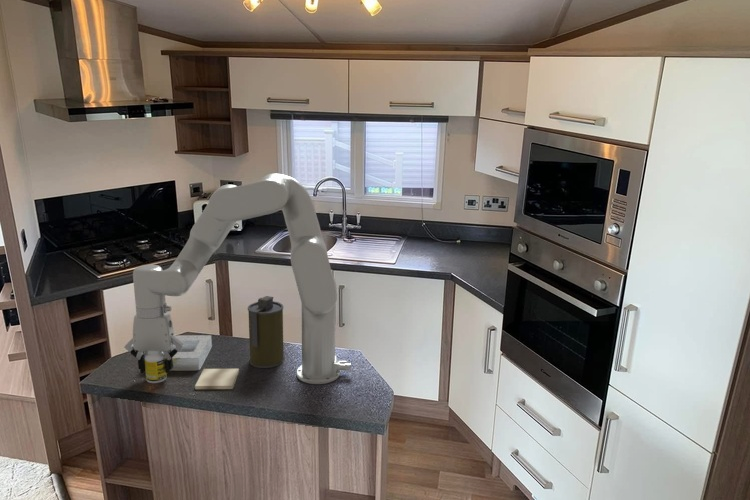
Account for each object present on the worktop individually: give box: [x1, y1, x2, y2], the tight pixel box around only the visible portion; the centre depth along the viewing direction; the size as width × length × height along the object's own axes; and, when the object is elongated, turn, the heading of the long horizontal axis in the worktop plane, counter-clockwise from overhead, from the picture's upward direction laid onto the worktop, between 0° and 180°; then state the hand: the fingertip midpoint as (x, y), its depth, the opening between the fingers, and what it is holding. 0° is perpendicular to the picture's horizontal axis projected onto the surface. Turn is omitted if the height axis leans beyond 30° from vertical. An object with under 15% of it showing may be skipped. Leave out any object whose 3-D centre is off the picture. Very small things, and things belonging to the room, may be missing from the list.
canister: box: [247, 295, 285, 369], centre depth 161 cm, size 11×10×20 cm
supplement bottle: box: [144, 351, 168, 384], centre depth 150 cm, size 5×5×10 cm
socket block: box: [162, 334, 213, 372], centre depth 163 cm, size 15×16×4 cm
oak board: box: [194, 368, 240, 390], centre depth 151 cm, size 10×10×1 cm
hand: (156, 370), depth 150 cm, fingers open, 6 cm apart
